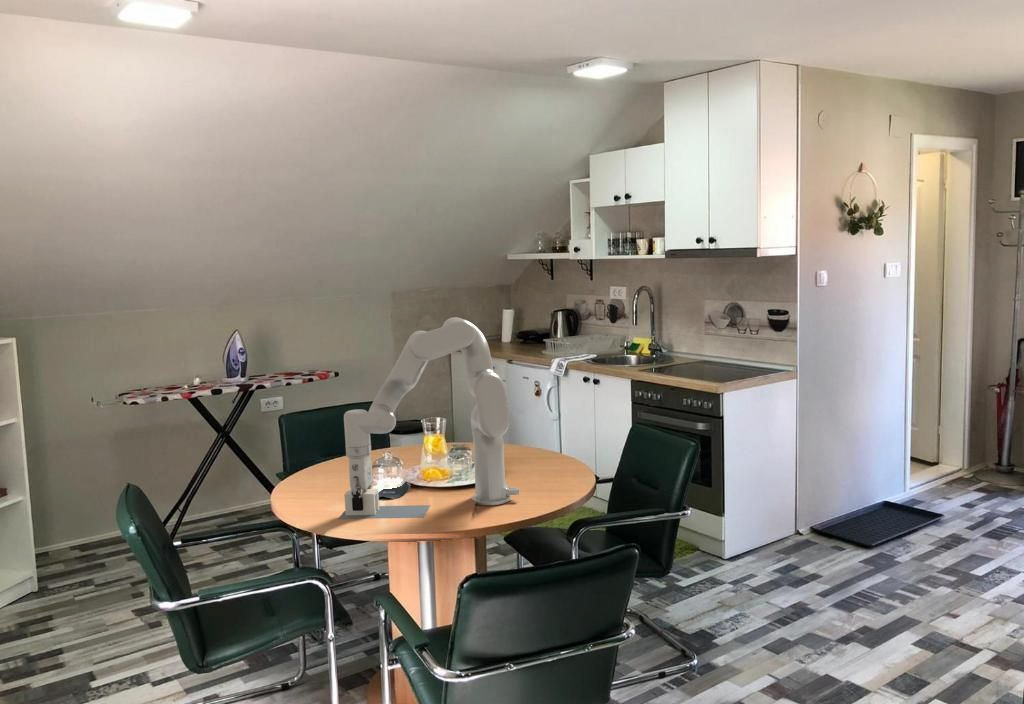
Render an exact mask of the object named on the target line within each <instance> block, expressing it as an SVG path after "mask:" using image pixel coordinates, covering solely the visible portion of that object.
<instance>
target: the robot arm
mask: <svg viewBox="0 0 1024 704" xmlns="http://www.w3.org/2000/svg"><path fill="white" fill-rule="evenodd" d="M458 351H460V352H461V353H462V358H463V361H464V367H465V373H466V380H467V381H466V382H467V388H468V391H469V394H470V395H472V396H473V397H474V398H475V402H476V405H475V406H474V407H473V409H472V411H471V413H470V425H471V433H472V442H473V443H472V444H473V446H472V447H473V465H474V482H475V483H474V487H475V494H473V495H471V497H470V499H471V500H473V501H474V502H475V505H478V506H498V505H502V504H506V503H508V502H510V501H511V500H512V499H511V495H513V496H520V488H517V487H509V486H508V484H507V483H506V475H505V474H506V473H505V452H504V451H505V450H504V449H505V448H504V447H505V446H504V437H503V436H504V435H505V434H506V433H507V432H508V429H509V427H510V421H511V420H510V418H511V417H510V411H509V403H508V397H507V392H506V391H507V390H506V386H505V384H504V381H503V379H502V378H501V377H500V376H499V374H497V373H495V370H494V364H493V360H492V356H491V355H492V353H491V352H490V351H491V350H490V347H489V344H488V341H487V339H486V337H485V336H484V334H483V332H482V331H481V330H480V329H479V328H478V327H477V326H476V325H474V324H473V323H472V322H470V321H469V320H468V319H467V320H466V319H464V318H461V317H457V316H456V317H450V318H448V319H446V320H445V321H444V322H443V324H442V326H441V327H438V328H435V329H432V330H429V331H427V330H416V331H414V332H413V333H412V334H411V335H410V336H409V337H408V339H407V342H406V343H405V345H404V347H403V349H402V350H401V353H400V354H399V356H398V358H397V359H396V360H397V361H396V362H395V364H394V365H393V368H392V369H391V372H390V373H389V375H388V376H387V378H386V379H385V381H384V382H383V383H382V385H381V387H380V388H379V390H378V392H377V393H376V396H375V398H374V399H373V402H372V403H371V405H370V407H369V409H368V411H367V410H366V409H362V408H361V409H349V410H347V411H345V413H344V414H343V425H344V426H343V427H344V440H345V441H344V442H345V456H346V458H347V459H348V462H349V463H348V471H349V472H348V474H349V477H348V478H349V487H350V488H349V489H351V490H352V492H351V493H352V508H353V511H363V497H362V489H364V490H366V489H372V488H371V485H372V484H373V482H374V478H373V467H372V466H373V465H372V460H371V459H372V458H371V455H372V442H371V441H372V440H371V434H377V435H385V434H389V433H391V432H392V431H393V430H394V429H395V427H396V424H397V420H396V416H395V414H394V413H395V411H396V410H397V408H398V405H399V404H400V402H401V400H402V399H403V398H404V397H405V395H406V394H407V393H409V392H410V391H411V390H412V389H414V387H416V385H417V384H418V382H419V380H420V378H421V377H422V374H423V372H424V370H425V369H426V366H427V365H428V363H429V362H430V361H432V360H436V359H438V358H439V359H440V358H442V357H445V356H448V355H450V354H452V353H456V352H458ZM358 491H359V492H358Z"/></svg>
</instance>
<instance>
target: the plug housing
mask: <svg viewBox="0 0 1024 704" xmlns="http://www.w3.org/2000/svg"><path fill="white" fill-rule="evenodd" d="M351 492H352V490H351V488H349V489H348V490H347V491H346V492H345V493H344V494H343V495H344V497H343V498H344V509H345V510H344V511H345V512H346V515H375V514H376V510H379V506H380V503H379V501H380V498H379V497H378V492H379V489H378V488H371V489H366V490H364V489H362V497H363V511H353V508H352V493H351ZM358 492H359V491H358Z"/></svg>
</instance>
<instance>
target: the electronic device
mask: <svg viewBox="0 0 1024 704" xmlns="http://www.w3.org/2000/svg"><path fill="white" fill-rule="evenodd" d="M403 483H404V484H403V485H402V486H400V487H397V488H392V489H383V488H382V489H383V490H382V489H381V490H379V491H378V497H379V499H380V498H381V497H384V498H387V499H391V500H398V499H401V498H402V497H404V496H405V495H406V494H408V491H409V490H410V488H411V486H412V485H411V484H410V482H403Z"/></svg>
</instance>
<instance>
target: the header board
mask: <svg viewBox="0 0 1024 704" xmlns="http://www.w3.org/2000/svg"><path fill="white" fill-rule="evenodd" d="M430 507H431V504H428V505H427V504H426V505H422V504H420V505H419V504H418V505H417V504H416V505H415V504H414V505H379V510H376V514H375V515H346V512H345V510H344V511H343V512H342V514H340V516H339V517H338V518H337V519H338V520H345V519H346V520H348V519H349V520H355V519H356V520H357V519H359V520H360V519H363V520H364V519H367V520H368V519H410V518H411V519H412V518H417V519H420V518H425V517H426V514H427V512H428V511H429V509H430Z"/></svg>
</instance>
